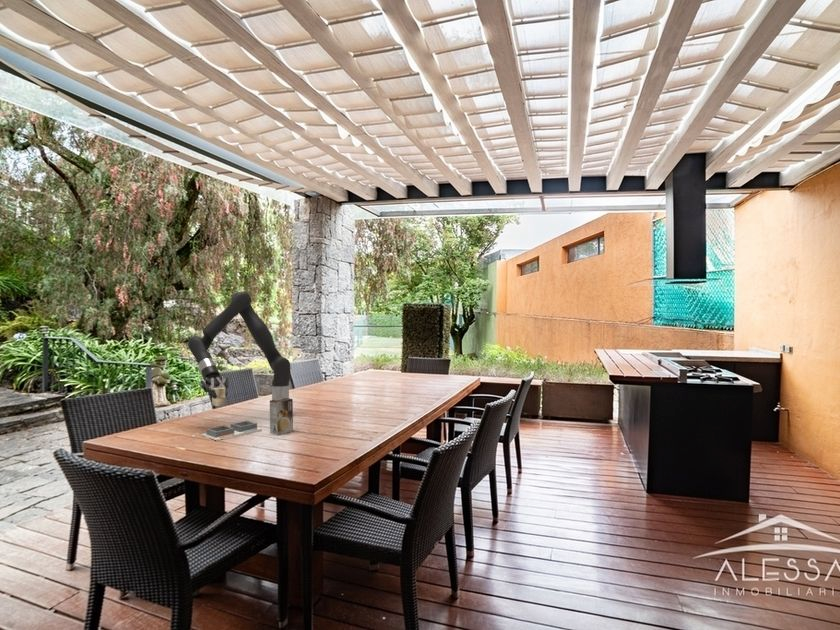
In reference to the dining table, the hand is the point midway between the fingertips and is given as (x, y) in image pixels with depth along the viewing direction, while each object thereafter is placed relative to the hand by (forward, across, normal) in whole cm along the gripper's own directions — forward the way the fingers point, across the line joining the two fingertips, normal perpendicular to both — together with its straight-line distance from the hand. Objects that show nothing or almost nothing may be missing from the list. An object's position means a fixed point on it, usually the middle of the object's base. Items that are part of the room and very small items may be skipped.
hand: (220, 396), depth 216 cm
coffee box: (+26, +21, -1) cm, 34 cm away
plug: (+1, 0, +4) cm, 5 cm away
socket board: (+15, +4, +11) cm, 19 cm away
